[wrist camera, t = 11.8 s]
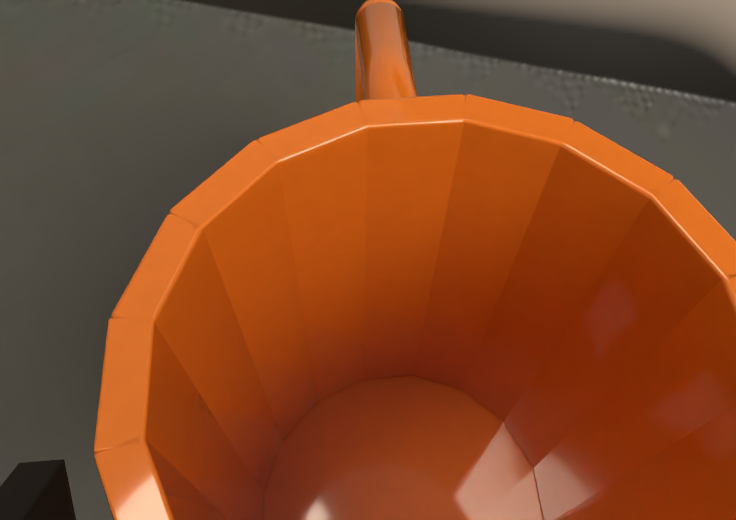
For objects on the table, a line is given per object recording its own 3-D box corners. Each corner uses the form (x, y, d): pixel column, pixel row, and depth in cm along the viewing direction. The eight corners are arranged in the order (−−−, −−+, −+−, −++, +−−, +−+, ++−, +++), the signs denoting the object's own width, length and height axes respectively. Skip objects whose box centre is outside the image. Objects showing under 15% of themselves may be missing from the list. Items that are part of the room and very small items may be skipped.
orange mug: (593, 679, 17) (971, 738, 6) (245, 717, 16) (46, 848, 6) (493, 223, 24) (598, -105, 13) (245, 240, 23) (153, -85, 13)
